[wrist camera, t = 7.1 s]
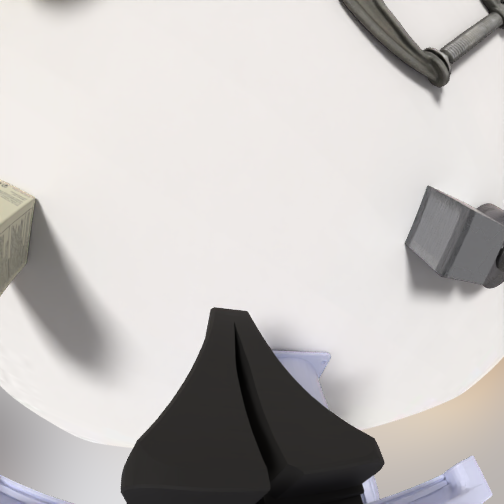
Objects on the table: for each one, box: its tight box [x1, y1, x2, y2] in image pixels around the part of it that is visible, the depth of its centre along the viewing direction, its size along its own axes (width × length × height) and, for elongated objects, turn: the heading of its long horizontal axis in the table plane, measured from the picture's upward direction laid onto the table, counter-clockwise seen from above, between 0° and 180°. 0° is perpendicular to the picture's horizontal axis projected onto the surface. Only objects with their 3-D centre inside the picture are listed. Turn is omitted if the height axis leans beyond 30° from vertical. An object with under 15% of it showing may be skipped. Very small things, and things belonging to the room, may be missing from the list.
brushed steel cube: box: [405, 186, 504, 285], centre depth 19 cm, size 6×5×5 cm
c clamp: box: [342, 0, 504, 87], centre depth 12 cm, size 20×17×3 cm
